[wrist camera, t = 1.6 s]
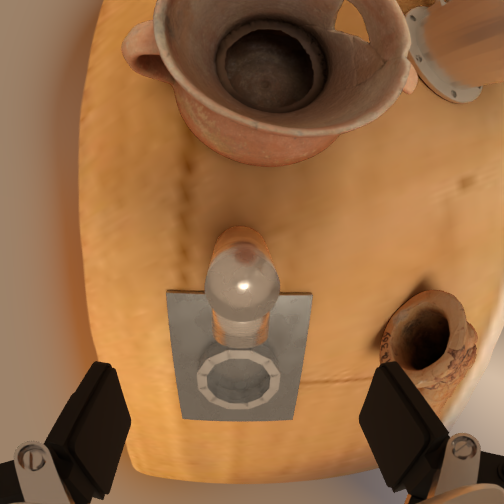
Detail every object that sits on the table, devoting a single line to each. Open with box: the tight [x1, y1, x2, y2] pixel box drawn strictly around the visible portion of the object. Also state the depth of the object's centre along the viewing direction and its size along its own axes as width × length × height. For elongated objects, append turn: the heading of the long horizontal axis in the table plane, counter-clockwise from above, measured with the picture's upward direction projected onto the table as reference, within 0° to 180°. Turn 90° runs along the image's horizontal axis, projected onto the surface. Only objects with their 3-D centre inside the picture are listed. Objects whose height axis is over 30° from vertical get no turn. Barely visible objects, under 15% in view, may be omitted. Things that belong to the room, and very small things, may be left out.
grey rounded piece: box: [205, 226, 280, 348], centre depth 23 cm, size 7×5×8 cm, turn 178°
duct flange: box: [166, 290, 313, 421], centre depth 29 cm, size 18×14×3 cm
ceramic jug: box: [122, 0, 418, 167], centre depth 16 cm, size 18×14×14 cm
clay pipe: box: [380, 290, 478, 416], centre depth 27 cm, size 19×11×15 cm
